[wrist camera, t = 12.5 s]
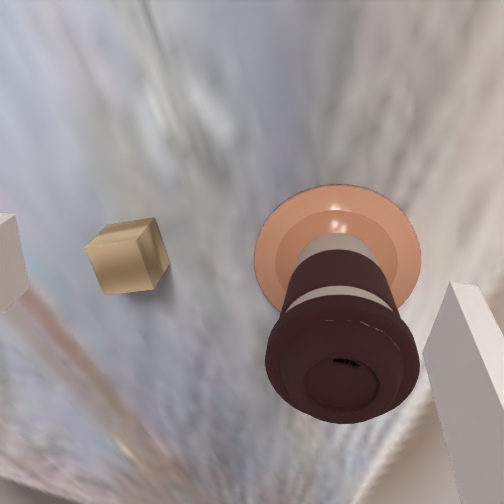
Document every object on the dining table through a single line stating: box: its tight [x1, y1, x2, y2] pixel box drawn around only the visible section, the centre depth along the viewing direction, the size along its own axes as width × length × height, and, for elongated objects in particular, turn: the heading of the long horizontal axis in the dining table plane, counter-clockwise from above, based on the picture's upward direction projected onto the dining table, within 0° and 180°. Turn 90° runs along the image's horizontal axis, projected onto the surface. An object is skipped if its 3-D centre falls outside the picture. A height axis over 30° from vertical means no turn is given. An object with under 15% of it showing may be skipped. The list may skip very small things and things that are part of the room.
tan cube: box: [84, 218, 170, 295], centre depth 42 cm, size 5×5×5 cm
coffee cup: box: [265, 233, 420, 424], centre depth 34 cm, size 10×10×15 cm
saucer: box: [254, 184, 421, 312], centre depth 41 cm, size 15×15×1 cm
